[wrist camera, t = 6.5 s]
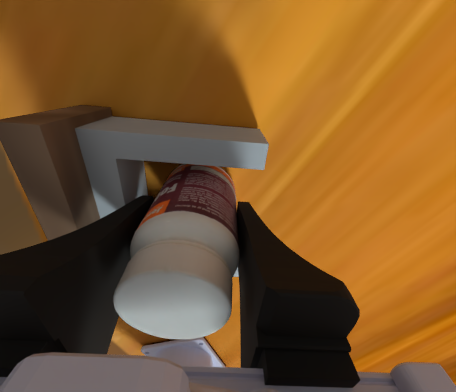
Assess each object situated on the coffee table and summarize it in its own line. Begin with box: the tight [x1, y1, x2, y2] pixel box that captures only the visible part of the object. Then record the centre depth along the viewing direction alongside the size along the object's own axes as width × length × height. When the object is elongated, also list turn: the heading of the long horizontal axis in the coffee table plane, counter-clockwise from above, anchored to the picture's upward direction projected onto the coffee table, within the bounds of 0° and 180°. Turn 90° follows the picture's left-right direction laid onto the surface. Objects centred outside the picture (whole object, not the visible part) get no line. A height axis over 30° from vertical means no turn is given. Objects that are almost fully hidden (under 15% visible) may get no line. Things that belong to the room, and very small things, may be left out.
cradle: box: [75, 116, 269, 277], centre depth 13 cm, size 8×9×3 cm
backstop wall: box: [0, 105, 112, 241], centre depth 11 cm, size 2×9×5 cm, turn 175°
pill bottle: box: [113, 164, 239, 339], centre depth 10 cm, size 5×5×8 cm
